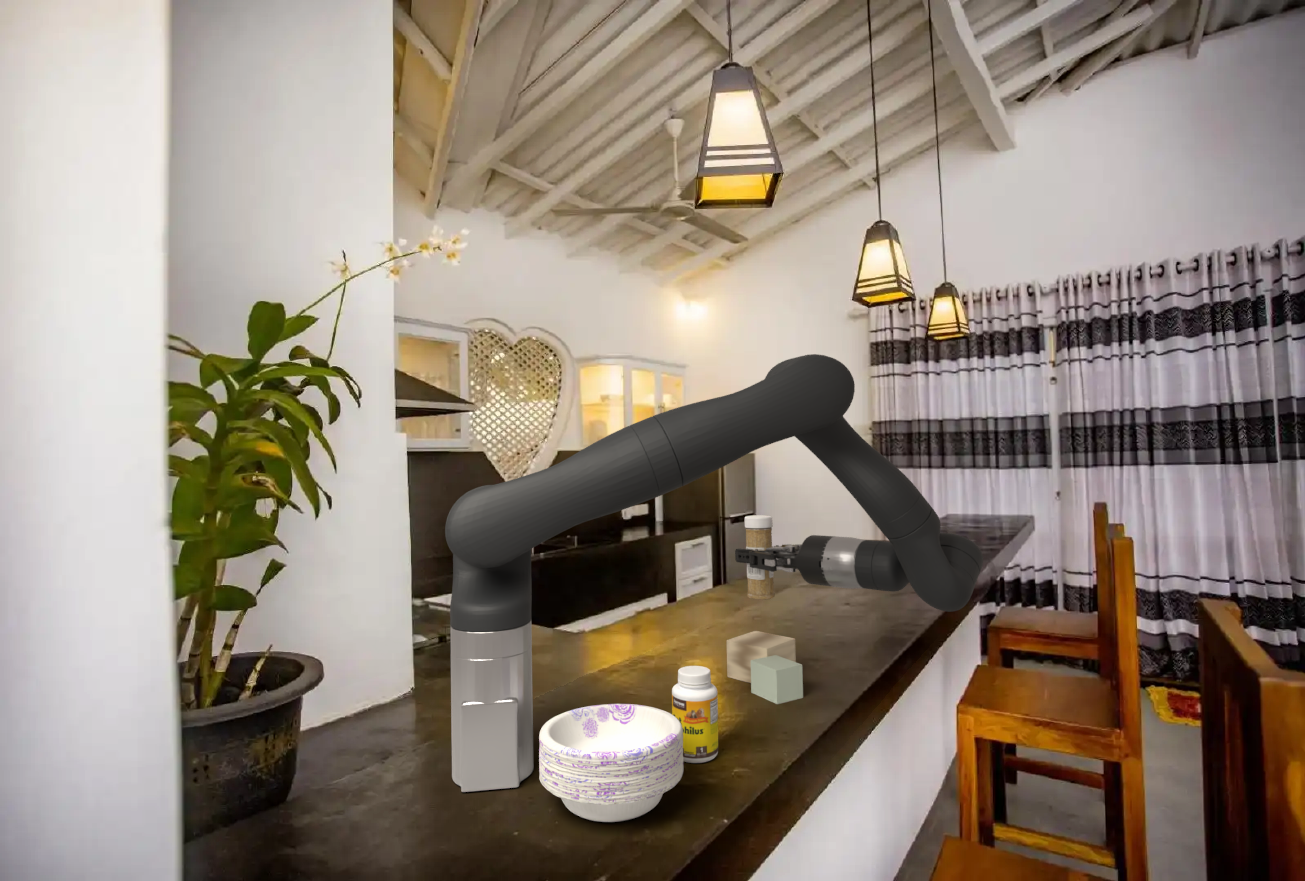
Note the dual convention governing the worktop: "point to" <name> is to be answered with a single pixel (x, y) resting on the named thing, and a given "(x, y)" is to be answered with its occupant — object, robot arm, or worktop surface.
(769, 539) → the brown spice jar
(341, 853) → the worktop surface
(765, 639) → the beech pedestal
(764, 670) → the sage block
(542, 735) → the paper bowls
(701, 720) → the supplement bottle
